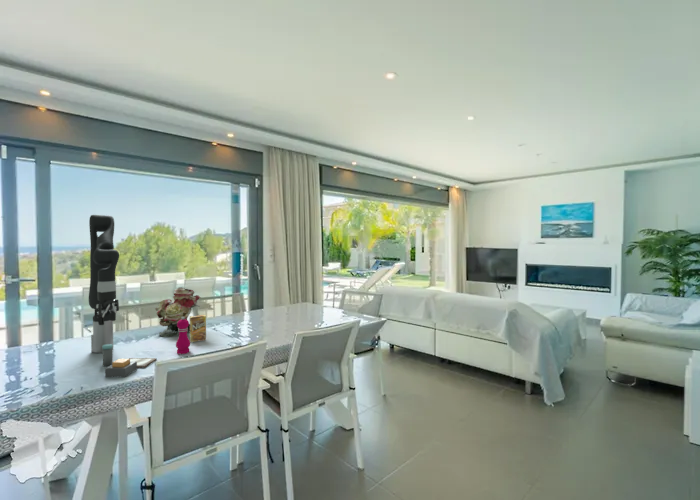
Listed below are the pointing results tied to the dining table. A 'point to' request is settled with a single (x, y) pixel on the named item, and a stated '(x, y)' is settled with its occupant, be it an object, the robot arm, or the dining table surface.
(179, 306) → the rose bouquet
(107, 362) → the marker
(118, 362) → the button
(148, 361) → the board
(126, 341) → the dining table surface
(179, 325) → the pepper mill
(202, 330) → the candy box
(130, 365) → the button housing
